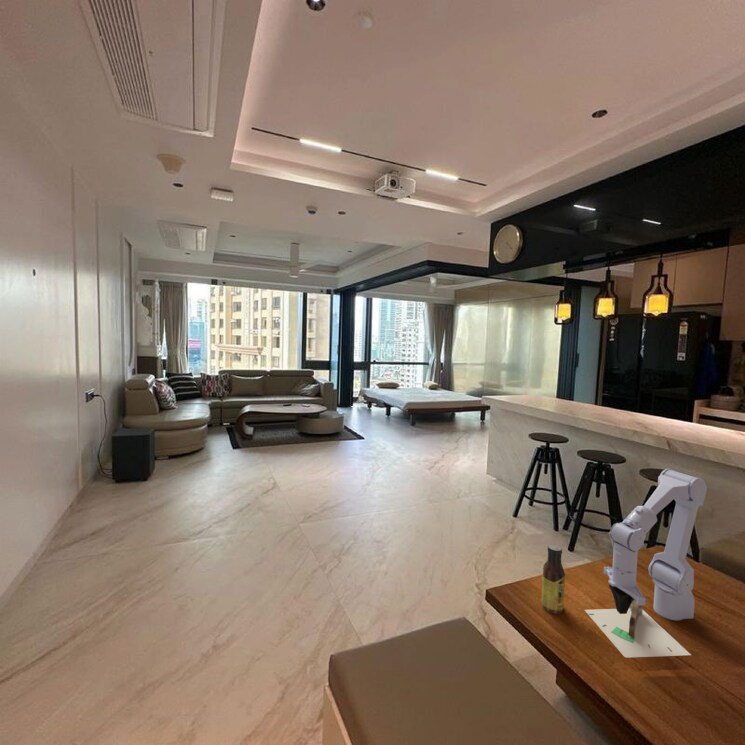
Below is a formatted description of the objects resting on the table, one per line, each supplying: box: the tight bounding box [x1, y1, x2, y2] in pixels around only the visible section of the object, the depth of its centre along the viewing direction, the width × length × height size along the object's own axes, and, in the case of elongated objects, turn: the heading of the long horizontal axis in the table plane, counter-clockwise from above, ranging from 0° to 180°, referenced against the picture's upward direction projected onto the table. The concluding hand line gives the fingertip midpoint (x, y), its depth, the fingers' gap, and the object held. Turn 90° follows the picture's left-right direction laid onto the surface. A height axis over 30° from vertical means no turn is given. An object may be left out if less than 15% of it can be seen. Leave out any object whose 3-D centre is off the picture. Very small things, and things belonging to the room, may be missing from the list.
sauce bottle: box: [541, 544, 566, 614], centre depth 120 cm, size 7×6×20 cm
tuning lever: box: [629, 599, 644, 637], centre depth 113 cm, size 16×3×5 cm, turn 141°
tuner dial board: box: [584, 607, 692, 659], centre depth 111 cm, size 18×18×1 cm
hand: (621, 612), depth 112 cm, fingers closed
